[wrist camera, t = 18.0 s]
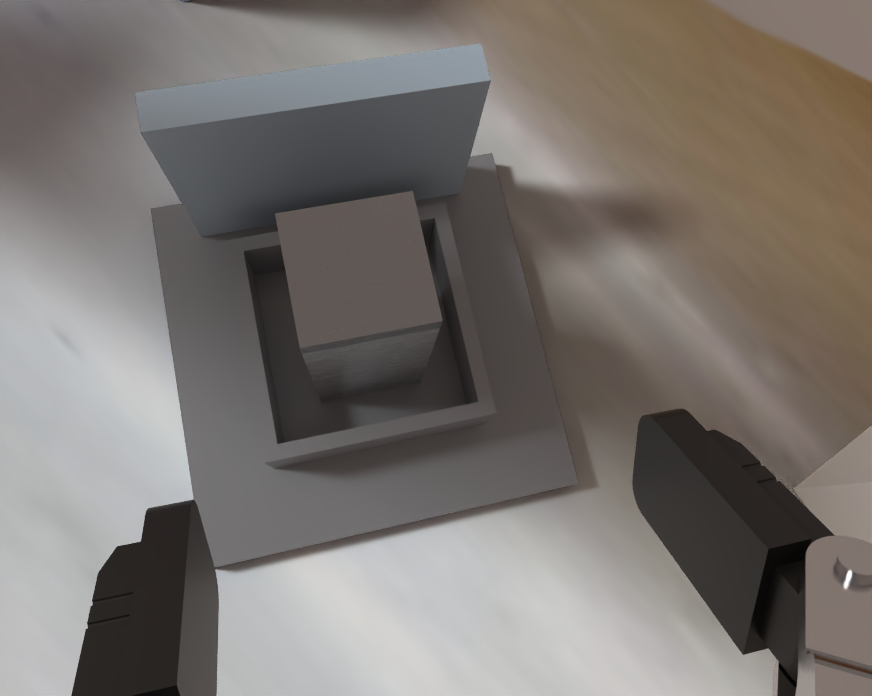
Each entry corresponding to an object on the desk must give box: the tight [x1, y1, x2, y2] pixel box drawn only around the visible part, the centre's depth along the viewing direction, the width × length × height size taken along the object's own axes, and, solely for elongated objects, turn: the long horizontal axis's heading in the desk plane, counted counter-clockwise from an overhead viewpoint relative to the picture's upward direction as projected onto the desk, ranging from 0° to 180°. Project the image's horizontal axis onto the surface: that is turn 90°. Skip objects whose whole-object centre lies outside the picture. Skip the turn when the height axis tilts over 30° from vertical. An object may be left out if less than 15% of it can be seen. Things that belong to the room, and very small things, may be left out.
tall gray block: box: [275, 191, 443, 403], centre depth 27 cm, size 4×4×10 cm
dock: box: [135, 43, 579, 567], centre depth 28 cm, size 16×16×10 cm
